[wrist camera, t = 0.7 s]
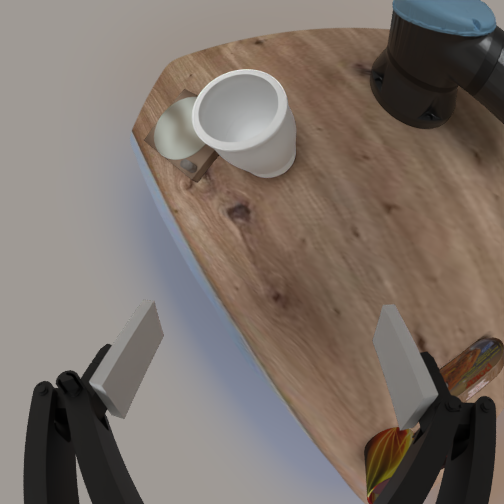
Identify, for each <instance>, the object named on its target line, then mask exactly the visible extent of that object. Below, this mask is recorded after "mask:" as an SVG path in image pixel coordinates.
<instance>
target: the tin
mask: <svg viewBox="0 0 504 504" xmlns="http://www.w3.org/2000/svg"><path fill="white" fill-rule="evenodd" d="M503 366H504V345H503V343H502V341H501V340H499V339H497V338H485V339H482V340H479V341H477V342H476V343H474V344H472V345H471V346H470V347H469V348H467V349H466V350H465V351H464V352H463V353H461V354H460V355H459V356H458V357H456V358H455V359H454V360H452V361H451V362H450V363H448V364H447V365H446V366H444V367H443V368H442V369H440V373H441V374H442V376H443V378H444V381H445V383H446V385H447V387H448V389H449V392H450V394H451V395H454V396H456V397H458V398H459V399H460V400H461V401H462V402H463V403H465V402H466V401H467V400H469V399H470V398H471V397H472V396H474V395H475V394H476V393H477V392H479V391H480V390H481V389H482V388H483V387H485V386H486V385H487V384H488V383H489V382H491V381H492V380H493V379H494V378H495V377H496V376H497V375H498V374H499V373H500V371H501V370H502V368H503Z"/></svg>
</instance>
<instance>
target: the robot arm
mask: <svg viewBox="0 0 504 504" xmlns="http://www.w3.org/2000/svg"><path fill="white" fill-rule="evenodd" d="M370 83H371V88H372V91H373V93H374V95H375V97H376V99H377V100H378V102H379V103H380V104H381V106H382V107H383V108H384V109H385V110H386V111H387V112H388V113H390V114H391V115H392V116H394V117H395V118H396V119H398V120H400V121H402V122H404V123H406V124H408V125H411V126H414V127H417V128H424V129H430V128H436V127H439V126H441V125H443V124H444V123H445V122H446V121H447V120H448V119H449V117H450V116H451V115H452V113H453V111H454V109H455V105H456V97H457V87H458V85H459V86H460V87H461V88H463V89H464V90H465V91H467V92H468V93H469V94H471V95H472V96H473V97H474V98H475V99H476V100H478V101H479V102H480V103H481V104H482V105H484V106H485V107H486V108H487V109H488V110H489V111H490V112H491V113H493V114H494V115H495V116H496V117H497V118H498V119H499V120H500V121H501V122H502V123H503V124H504V31H503V30H502V29H501V28H499V27H498V26H497V25H496V21H495V16H494V14H493V12H492V10H491V9H490V8H489V7H488V6H487V5H486V4H485V3H484V2H482V1H480V0H394V1H393V14H392V21H391V28H390V34H389V40H388V45H387V48H386V49H385V50H384V51H383V52H382V53H381V54H380V55H379V57H378V58H377V59H376V60H375V62H374V64H373V66H372V70H371V76H370ZM163 336H164V334H163V331H162V328H161V324H160V320H159V317H158V313H157V309H156V306H155V302H154V301H151V300H143V301H142V302H141V304H140V305H139V306H138V308H137V309H136V311H135V312H134V313H133V315H132V316H131V318H130V319H129V321H128V322H127V324H126V325H125V327H124V328H123V330H122V331H121V333H120V334H119V335H118V337H117V339H116V340H115V342H114V343H113V345H110V344H106V345H105V346H104V347H102V348H101V349H100V350H99V352H98V353H97V355H96V357H95V358H94V359H93V361H92V363H91V364H90V365H89V367H88V368H87V370H86V371H85V373H84V374H83V376H82V378H81V379H80V377H79V376H78V374H77V373H76V372H74V371H71V370H70V371H65V372H63V373H61V374H60V375H59V376H58V378H57V380H56V385H57V386H58V388H54V387H53V386H52V384H51V383H50V382H48V381H43V382H40V383H39V384H37V385H36V387H35V388H34V391H33V396H32V401H31V407H30V412H29V419H28V425H27V433H26V442H25V454H24V504H79V497H78V488H77V475H76V457H77V460H78V464H79V467H80V470H81V473H82V477H83V480H84V483H85V485H86V488H87V491H88V494H89V496H90V499H91V501H92V504H144V503H143V501H142V499H141V497H140V495H139V493H138V491H137V489H136V487H135V485H134V483H133V481H132V479H131V477H130V475H129V473H128V471H127V468H126V466H125V464H124V461H123V459H122V457H121V454H120V452H119V449H118V447H117V444H116V441H115V439H114V436H113V433H112V430H111V428H110V425H109V422H108V419H107V416H106V415H105V413H106V410H107V409H108V411H109V412H110V413H111V415H113V416H116V417H119V418H123V419H125V416H126V414H127V412H128V410H129V407H130V405H131V403H132V401H133V399H134V397H135V394H136V392H137V390H138V388H139V386H140V384H141V382H142V380H143V378H144V375H145V373H146V371H147V369H148V367H149V365H150V363H151V361H152V359H153V357H154V355H155V353H156V350H157V349H158V347H159V344H160V343H161V340H162V339H163ZM372 341H373V344H374V347H375V349H376V352H377V355H378V358H379V361H380V364H381V367H382V370H383V373H384V376H385V380H386V383H387V386H388V389H389V393H390V396H391V399H392V403H393V406H394V410H395V413H396V417H397V421H398V424H399V428H400V430H405V429H409V428H413V427H414V426H415V425H416V424H417V423H418V421H419V424H420V428H419V429H418V430H417V432H416V433H415V434H414V435H413V436H412V438H414V439H413V441H412V443H411V445H410V447H409V448H408V450H407V452H406V454H405V456H404V457H403V459H402V461H401V462H400V464H399V466H398V467H397V469H396V471H395V472H394V474H393V475H392V477H391V479H390V480H389V482H388V483H387V485H386V486H385V487H384V489H383V490H382V492H381V493H380V495H379V496H378V497H377V499H376V500H375V501H374V503H373V504H423V502H424V500H425V499H426V497H427V495H428V493H429V492H430V490H431V488H432V486H433V484H434V482H435V480H436V478H437V476H438V474H439V472H440V470H441V468H442V465H443V463H444V461H445V458H446V456H447V459H446V464H445V469H444V473H443V478H442V482H441V486H440V490H439V494H438V498H437V501H436V504H488V502H489V497H490V492H491V485H492V479H493V471H494V461H495V447H496V407H495V403H494V402H493V400H492V399H491V398H489V397H487V396H482V397H480V398H479V399H478V400H477V401H476V402H475V403H463V402H462V401H461V400H460V399H459V398H458V397H456V396H454V395H451V394H450V392H449V389H448V387H447V385H446V383H445V381H444V378H443V376H442V374H441V373H440V370H439V368H438V367H437V364H436V362H435V360H434V358H433V357H432V356H431V355H430V354H429V353H428V352H422V353H420V352H419V350H418V348H417V346H416V344H415V342H414V340H413V338H412V336H411V334H410V332H409V330H408V329H407V327H406V325H405V323H404V321H403V319H402V317H401V315H400V313H399V312H398V310H397V308H396V306H395V304H392V305H383V306H382V310H381V314H380V317H379V321H378V324H377V327H376V331H375V334H374V337H373V340H372ZM75 456H76V457H75Z"/></svg>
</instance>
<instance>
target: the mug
mask: <svg viewBox="0 0 504 504" xmlns="http://www.w3.org/2000/svg"><path fill="white" fill-rule="evenodd" d="M413 435H414V433H413V432H412V431H411V430H410V429H405V430H400V428H399V427H396V428H390V429H387V430H384V431H382V432H380V433H378V434H377V435H375V436H374V437H373V438H372V439H371V440H370V441H369V442H368V443H367V445H366V447H365V450H364V455H365V467H366V483H367V500H368V503H369V504H373V503H374V501H375V500H376V499H377V497H378V496H379V495H380V493H381V492H382V490H383V489H384V487H385V486H386V485H387V483H388V482H389V480H390V479H391V477H392V475H393V474H394V472H395V471H396V469H397V467H398V466H399V464H400V462H401V461H402V459H403V457H404V456H405V454H406V452H407V450H408V448H409V447H410V445H411V443H412V441H413V439H414V438H412V436H413ZM446 459H447V456H446V458H445V461H444V463H443V465H442V468H441V469H443V468H445V464H446Z"/></svg>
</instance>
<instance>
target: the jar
mask: <svg viewBox="0 0 504 504" xmlns="http://www.w3.org/2000/svg"><path fill="white" fill-rule="evenodd" d="M192 124H193V128H194V130H195V132H196V134H197V135H198V137H199V138H200V139H201V140H202V141H203V142H204V143H206V144H207V145H208V146H210V147H212V148H214V149H215V151H216V152H217V153H218V154H219V155H220V156H221V157H222V158H223V159H225V160H226V161H227V162H229V163H230V164H232V165H234V166H236V167H238V168H240V169H243V170H245V171H248V172H251V173H252V174H254V175H256V176H258V177H262V178H273V177H277V176H279V175H281V174H283V173H285V172H286V171H287V170H288V169H289V168H290V167H291V166H292V164H293V162H294V160H295V156H296V147H295V145H296V124H295V119H294V116H293V113H292V111H291V109H290V107H289V105H288V99H287V95H286V93H285V91H284V89H283V87H282V86H281V84H280V83H279V82H278V81H277V80H276V79H275V78H274V77H272V76H271V75H269V74H267V73H265V72H262V71H258V70H252V69H242V70H235V71H231V72H228V73H225V74H223V75H221V76H219V77H217V78H216V79H214V80H213V81H211V82H210V83H209V84H208V85H207V86H206V87H205V88H204V89H203V90H202V91H201V92H200V94H199V95H198V97H197V99H196V101H195V103H194V106H193V110H192Z"/></svg>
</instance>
